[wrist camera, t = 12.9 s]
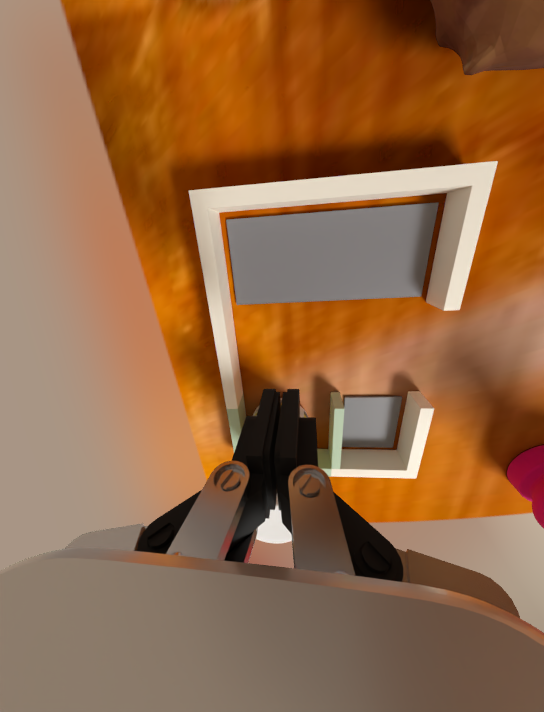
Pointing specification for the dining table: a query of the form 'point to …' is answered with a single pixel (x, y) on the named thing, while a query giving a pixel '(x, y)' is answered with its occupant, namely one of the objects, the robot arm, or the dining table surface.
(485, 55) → the butternut squash
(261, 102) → the dining table surface
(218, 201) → the frame
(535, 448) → the pepper mill
